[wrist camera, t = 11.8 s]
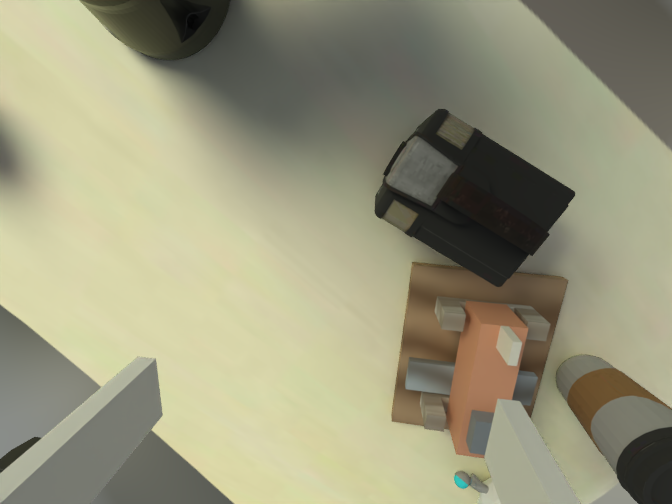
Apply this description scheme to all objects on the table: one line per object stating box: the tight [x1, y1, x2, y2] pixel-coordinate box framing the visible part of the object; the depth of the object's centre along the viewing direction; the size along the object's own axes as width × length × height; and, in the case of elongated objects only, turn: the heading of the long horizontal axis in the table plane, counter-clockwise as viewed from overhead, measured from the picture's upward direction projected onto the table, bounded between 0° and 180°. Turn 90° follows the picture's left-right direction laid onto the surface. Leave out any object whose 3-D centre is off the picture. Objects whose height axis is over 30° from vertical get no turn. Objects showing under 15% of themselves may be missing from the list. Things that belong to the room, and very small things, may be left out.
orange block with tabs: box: [446, 301, 529, 458], centre depth 35 cm, size 16×4×9 cm, turn 177°
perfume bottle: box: [454, 471, 501, 504], centre depth 43 cm, size 8×8×12 cm
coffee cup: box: [556, 355, 672, 504], centre depth 34 cm, size 8×8×15 cm
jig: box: [392, 262, 568, 432], centre depth 39 cm, size 22×17×6 cm
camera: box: [375, 109, 575, 287], centre depth 30 cm, size 11×14×15 cm
